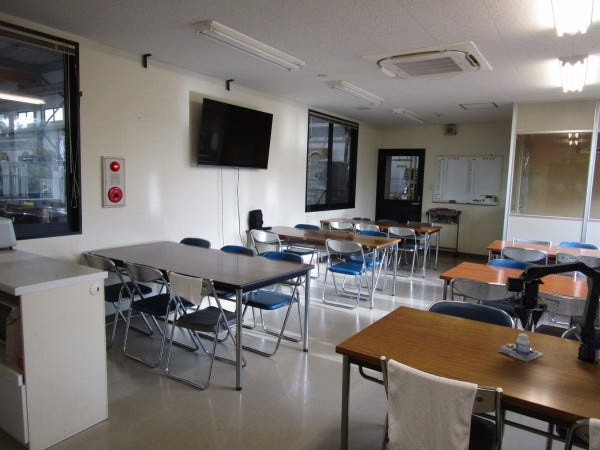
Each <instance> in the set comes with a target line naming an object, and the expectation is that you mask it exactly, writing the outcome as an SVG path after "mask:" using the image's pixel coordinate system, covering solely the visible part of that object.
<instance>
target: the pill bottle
mask: <svg viewBox="0 0 600 450" xmlns="http://www.w3.org/2000/svg"><path fill="white" fill-rule="evenodd" d="M529 338H530V336H529V335H528V334H527V333H519V334H518V338H517V339H516V343H515V345H516V352H519V353H521V354H524V355H528V354H530V348H531V341H530V340H529Z"/></svg>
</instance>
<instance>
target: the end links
mask: <svg viewBox="0 0 600 450" xmlns="http://www.w3.org/2000/svg"><path fill="white" fill-rule="evenodd" d="M499 353H501V354H505V355H507V356H509V357H513V358H515V359H517V360H521V361H524V362H529V361H533V360H536V359H538V358H541V357H543V356H544V353H543V352H540V351H538V350H536V349H535V348H533V347H530V354H528V355H524V354H521V353H519V352H516V343H512V342H511V343H510V342H507V343H505V344H504V345H501V346H499Z"/></svg>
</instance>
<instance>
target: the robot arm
mask: <svg viewBox="0 0 600 450" xmlns="http://www.w3.org/2000/svg"><path fill="white" fill-rule="evenodd" d="M523 269H524V270H523V272H522V273H520V275H519V276H518V277H513V276H507V279H506V281H505V291H506V292H507V293H522V292H523V294H521V296H520V297H516V296H511V297H509V301H508V302H509V304H510V305H512V306H511V307H513V308H512V314H514V315H515V316H517V317H518V318H519V321H520V324H521V328H522V329H523V330H526V328H527V327H528V324H529V322H530V319H531V317H532V323H533V324H532V325H533V326H535V327H536V326H537V325H538V324H539V321H540V320H541V319H542V317H543V316H544V314H545V313H546V311H547V310H548V309H549V308H548V305H547V303H545V302H542V301H539V299H541V295H539V294H540V293H539V292H540V285H542V286H543V285H545V282H544V281H543V280H542V279H543V278H545V277H547V276H549V275H550V276H551V275H558V274H565V273H573V272H580V273H581V274H583V276H586V285H587V294H586V299H585V304H584V308H583V313H582V314H583V315H582V317H581V321H580V322H579V323H578V322H576V323H575V329H574V330H573V332H574V335H575V337H576V338H577V339H578V340H579V342H580V344H579V347H578V352H577V360H581V361H584V362H587V363H591V364H595V363H598V362H600V358H599V355H600V354H599V353H600V342H599V341H598V340H597V336H596V335H597V334H596V333H597V332H596V331H597V330H596V327H595V322H596V317H597V314H598V308H599V304H600V303H599V302H600V270H599V269H594V268H592V267H590V266H588V265H587V264H586V263H585V262H582V261H580V260H575V261H569V262H568V261H567V262H561V263H553V264H547V265H546V264H545V265H544V264H527V265H526V266H525V267H524V268H523ZM531 313H532V316H531Z"/></svg>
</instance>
